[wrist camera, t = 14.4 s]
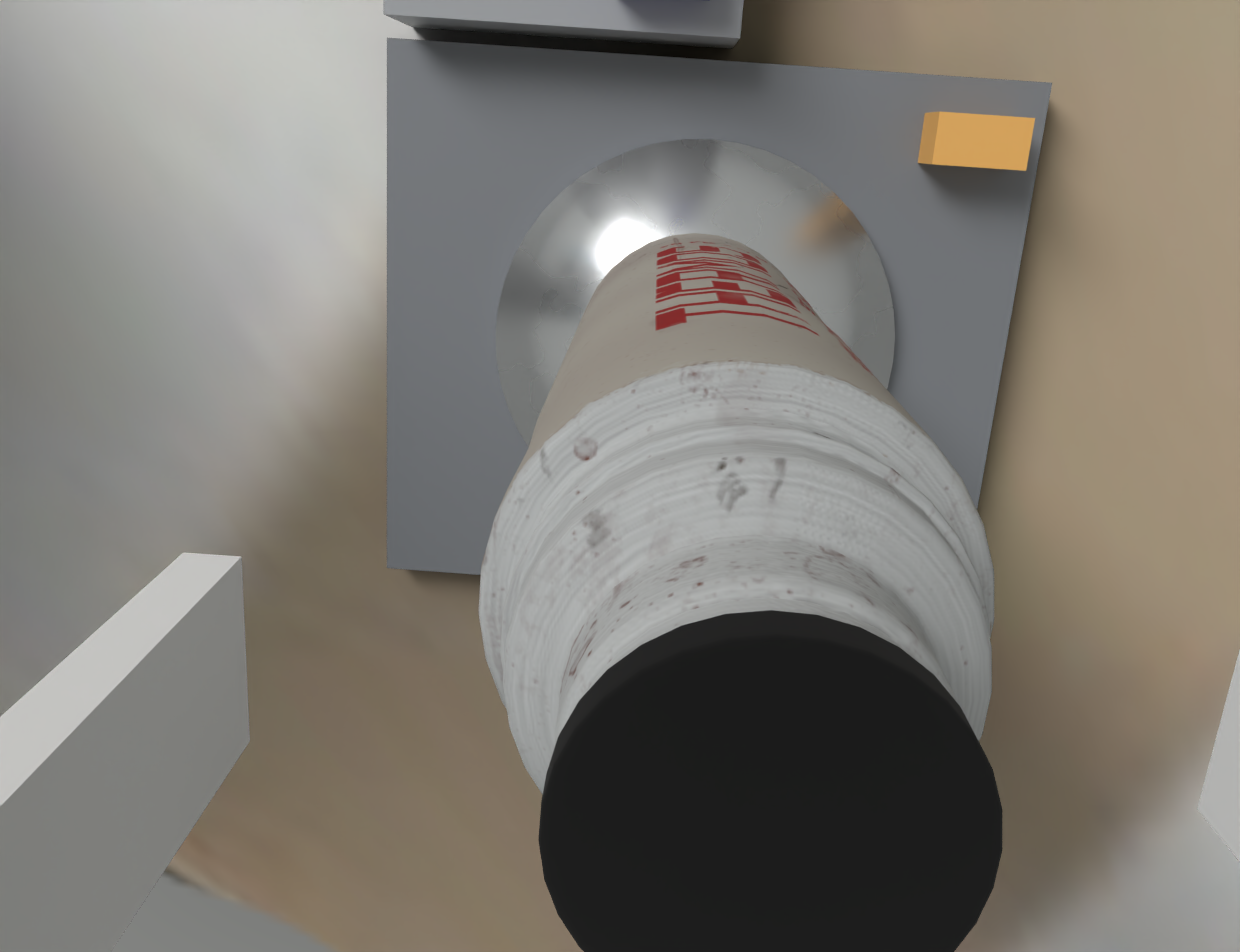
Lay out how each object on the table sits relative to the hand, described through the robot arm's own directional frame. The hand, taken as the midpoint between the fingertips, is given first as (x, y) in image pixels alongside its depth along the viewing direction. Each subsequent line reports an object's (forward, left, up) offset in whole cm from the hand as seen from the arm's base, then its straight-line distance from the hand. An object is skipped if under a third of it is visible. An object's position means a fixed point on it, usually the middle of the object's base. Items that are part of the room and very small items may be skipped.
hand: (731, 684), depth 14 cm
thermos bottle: (0, 0, -25) cm, 25 cm away
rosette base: (0, 0, -27) cm, 27 cm away
